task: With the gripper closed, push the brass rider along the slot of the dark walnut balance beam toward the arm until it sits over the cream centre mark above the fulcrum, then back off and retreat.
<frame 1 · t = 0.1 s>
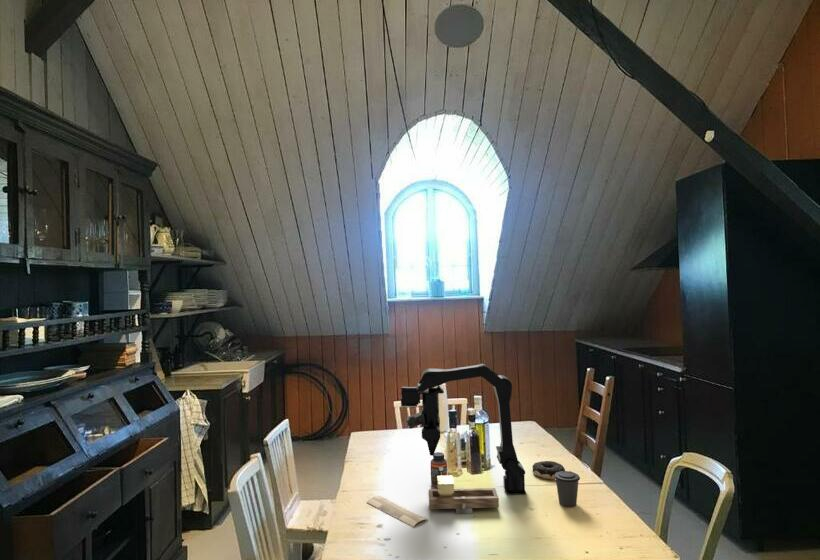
hand: (431, 450, 176), 15 cm above the table, fingers open, 9 cm apart
beige piece: (394, 514, 162), on the table
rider: (445, 488, 164), point 6 cm above the table, slide at 5.5 cm
beam: (463, 507, 164), on the table
supplement bottle: (439, 485, 182), on the table
donut: (548, 475, 189), on the table
coffee cup: (567, 504, 164), on the table
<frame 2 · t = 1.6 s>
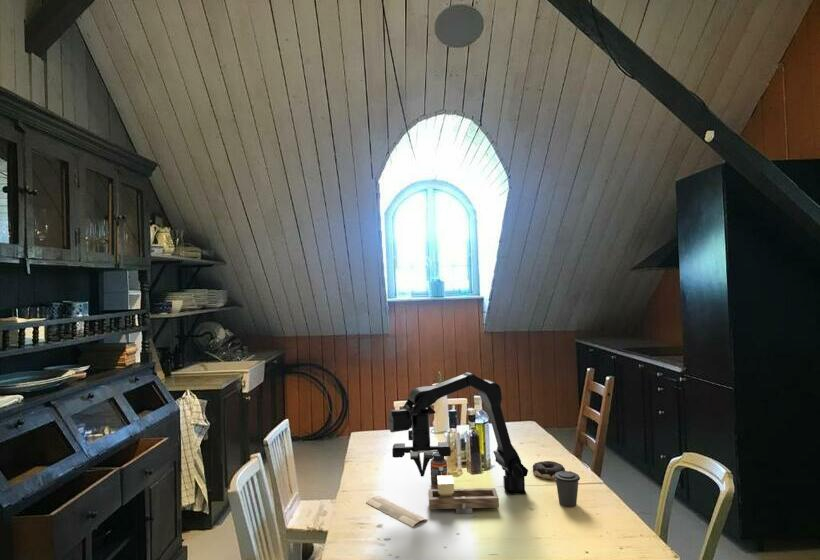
hand: (422, 476, 164), 10 cm above the table, fingers closed
nothing on the table moved.
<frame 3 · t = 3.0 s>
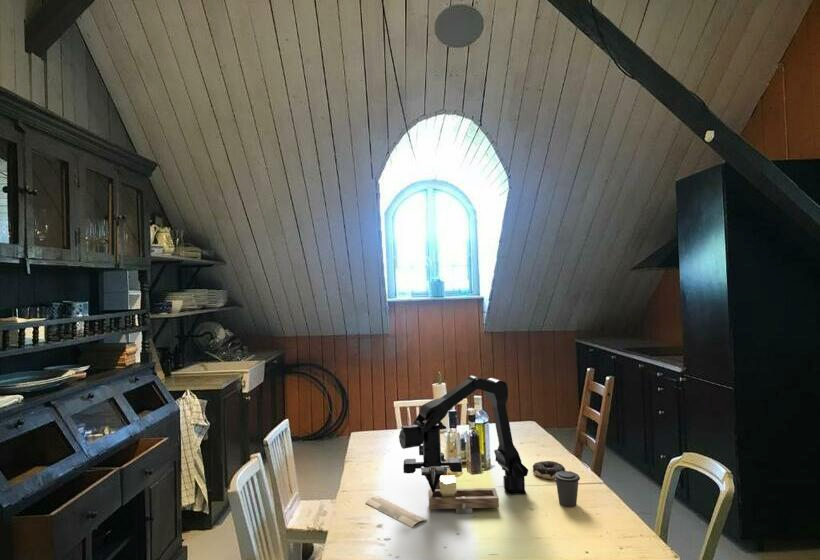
hand: (433, 491, 164), 5 cm above the table, fingers closed
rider: (447, 488, 164), point 6 cm above the table, slide at 4.8 cm, touching gripper
everything else where it was.
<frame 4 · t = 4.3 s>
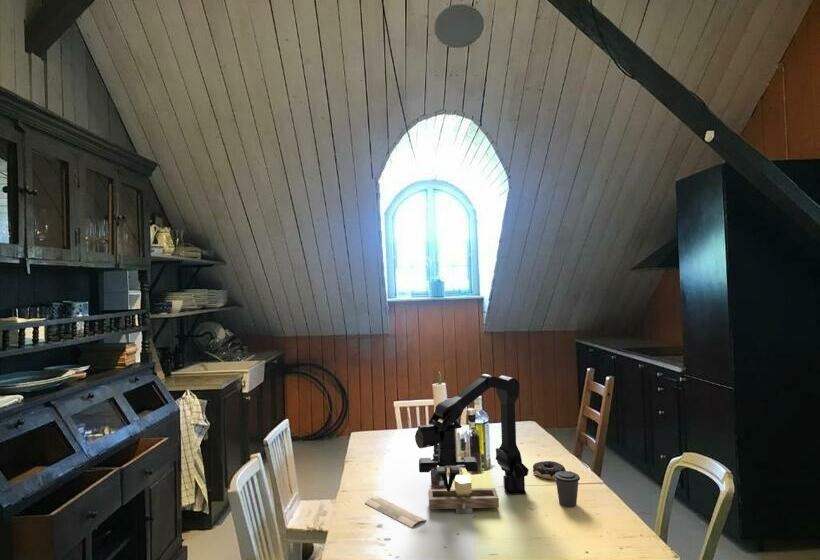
hand: (448, 490, 164), 5 cm above the table, fingers closed
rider: (463, 488, 164), point 6 cm above the table, slide at -0.1 cm, touching gripper
everything else where it was.
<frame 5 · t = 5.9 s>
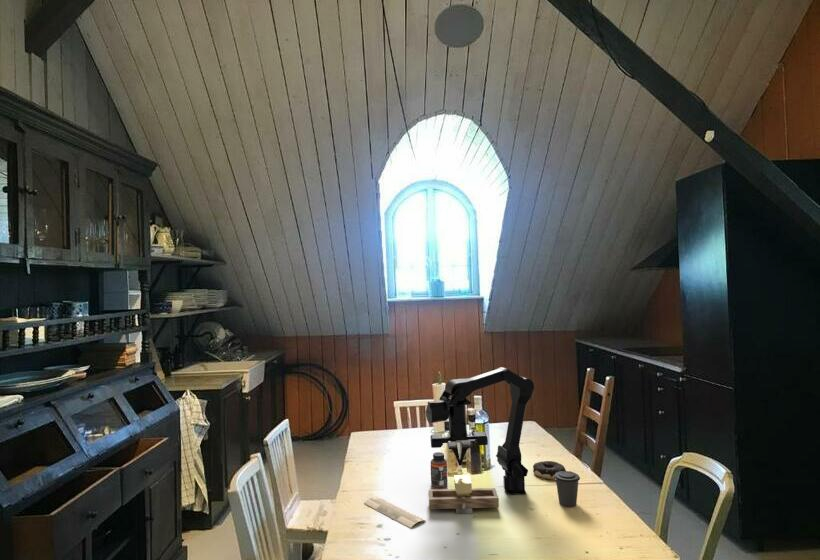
hand: (460, 465, 169), 12 cm above the table, fingers closed
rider: (463, 488, 164), point 6 cm above the table, slide at -0.1 cm
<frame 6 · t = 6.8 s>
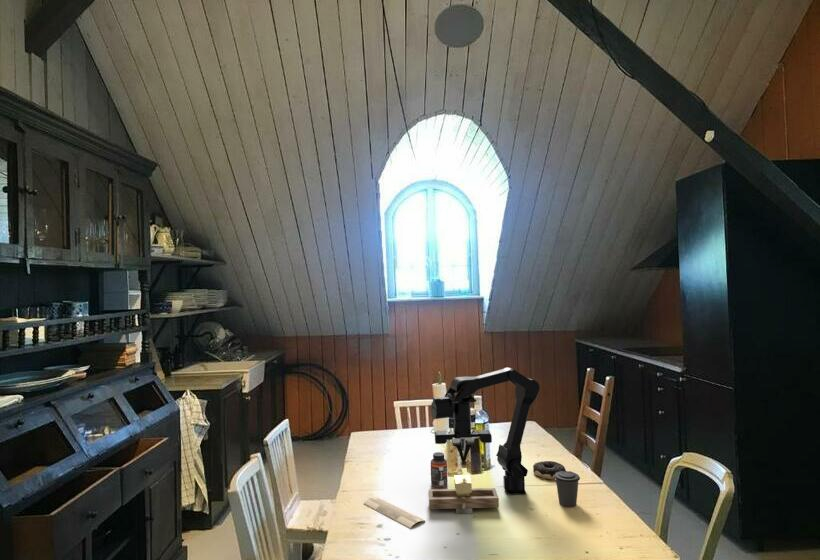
hand: (463, 462, 170), 13 cm above the table, fingers closed
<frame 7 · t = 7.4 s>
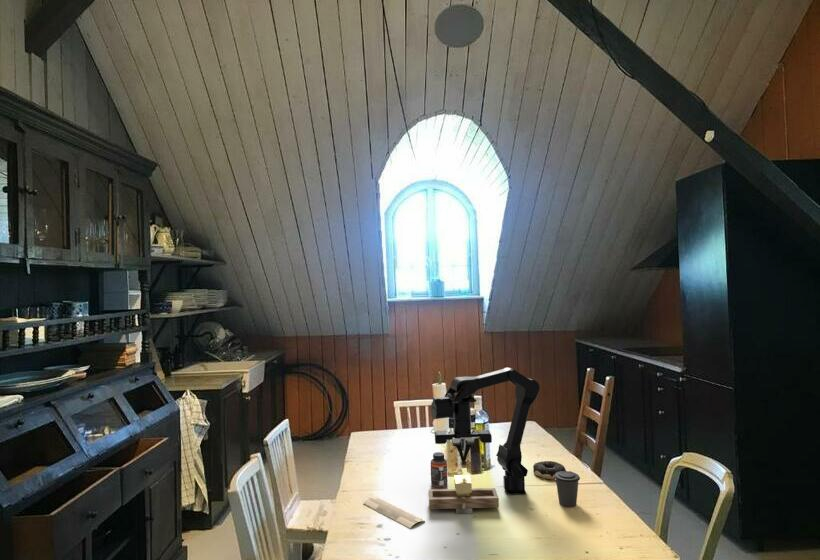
hand: (463, 462, 170), 13 cm above the table, fingers closed
at the end: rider slide at -0.1 cm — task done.
